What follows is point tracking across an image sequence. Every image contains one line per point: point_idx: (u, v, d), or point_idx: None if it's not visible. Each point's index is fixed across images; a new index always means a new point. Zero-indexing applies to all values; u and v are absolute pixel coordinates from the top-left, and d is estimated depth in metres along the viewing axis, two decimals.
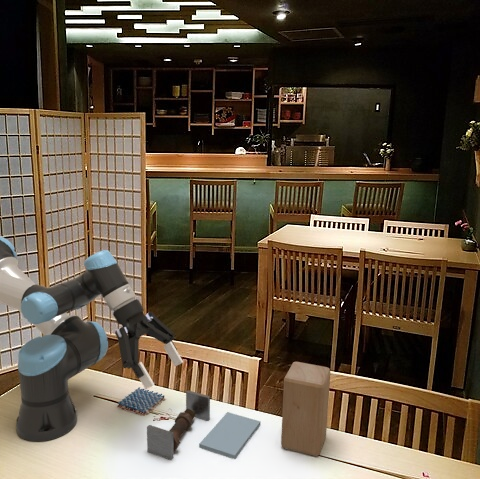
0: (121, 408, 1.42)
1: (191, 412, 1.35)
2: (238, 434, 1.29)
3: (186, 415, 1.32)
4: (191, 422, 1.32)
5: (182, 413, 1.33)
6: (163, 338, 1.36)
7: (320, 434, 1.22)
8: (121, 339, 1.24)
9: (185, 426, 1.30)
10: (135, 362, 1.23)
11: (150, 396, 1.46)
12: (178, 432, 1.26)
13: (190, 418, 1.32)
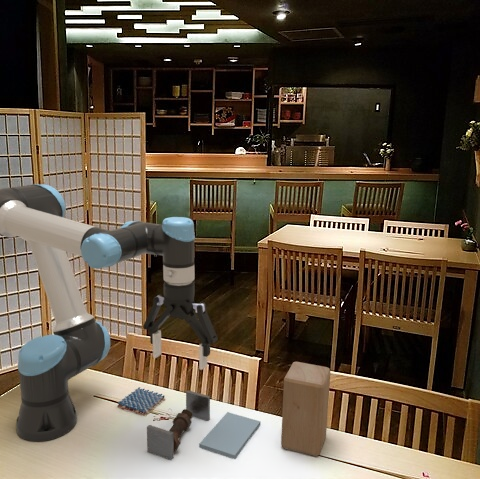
0: (121, 408, 1.42)
1: (189, 412, 1.35)
2: (238, 434, 1.29)
3: (184, 415, 1.32)
4: (189, 422, 1.32)
5: (180, 414, 1.33)
6: None
7: (320, 434, 1.22)
8: None
9: (184, 427, 1.30)
10: (149, 330, 1.26)
11: (150, 396, 1.46)
12: (177, 433, 1.26)
13: (188, 418, 1.32)
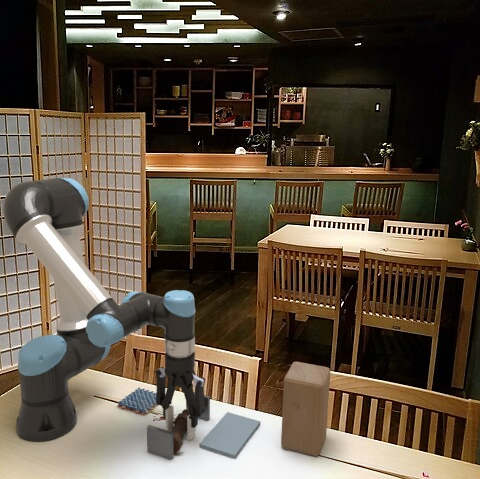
0: (121, 408, 1.42)
1: None
2: (238, 434, 1.29)
3: (185, 416, 1.31)
4: None
5: (181, 414, 1.32)
6: None
7: (320, 434, 1.22)
8: None
9: (185, 427, 1.29)
10: (162, 407, 1.30)
11: (150, 396, 1.46)
12: (179, 433, 1.25)
13: None
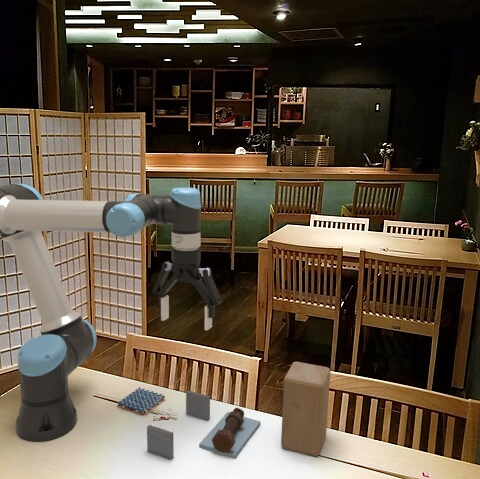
0: (121, 408, 1.42)
1: (241, 411, 1.34)
2: (238, 434, 1.29)
3: (237, 414, 1.31)
4: (242, 421, 1.31)
5: (233, 412, 1.32)
6: None
7: (320, 434, 1.22)
8: None
9: (237, 425, 1.29)
10: (158, 294, 1.35)
11: (150, 396, 1.46)
12: (231, 431, 1.25)
13: (241, 417, 1.31)
